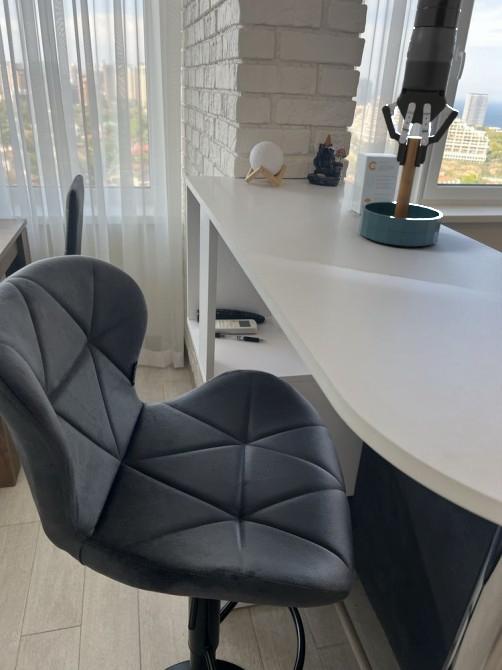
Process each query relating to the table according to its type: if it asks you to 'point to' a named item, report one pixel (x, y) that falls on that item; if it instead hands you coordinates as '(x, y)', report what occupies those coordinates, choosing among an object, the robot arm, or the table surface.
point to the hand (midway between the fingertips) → (409, 165)
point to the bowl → (400, 224)
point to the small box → (374, 179)
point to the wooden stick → (407, 177)
